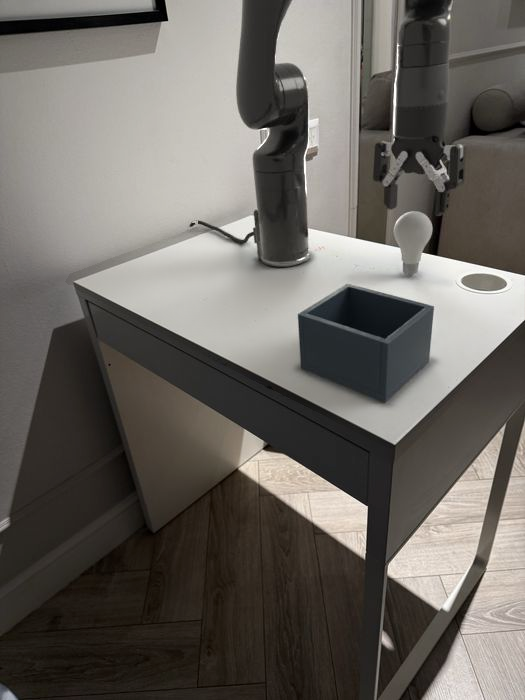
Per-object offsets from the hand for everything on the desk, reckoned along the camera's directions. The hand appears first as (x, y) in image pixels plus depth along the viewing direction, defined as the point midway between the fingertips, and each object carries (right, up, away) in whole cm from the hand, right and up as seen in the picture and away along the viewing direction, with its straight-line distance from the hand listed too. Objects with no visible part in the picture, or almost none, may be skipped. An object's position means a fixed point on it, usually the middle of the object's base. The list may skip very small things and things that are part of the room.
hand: (414, 211), depth 83 cm
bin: (-11, -24, -16) cm, 31 cm away
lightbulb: (+1, -10, +6) cm, 11 cm away
